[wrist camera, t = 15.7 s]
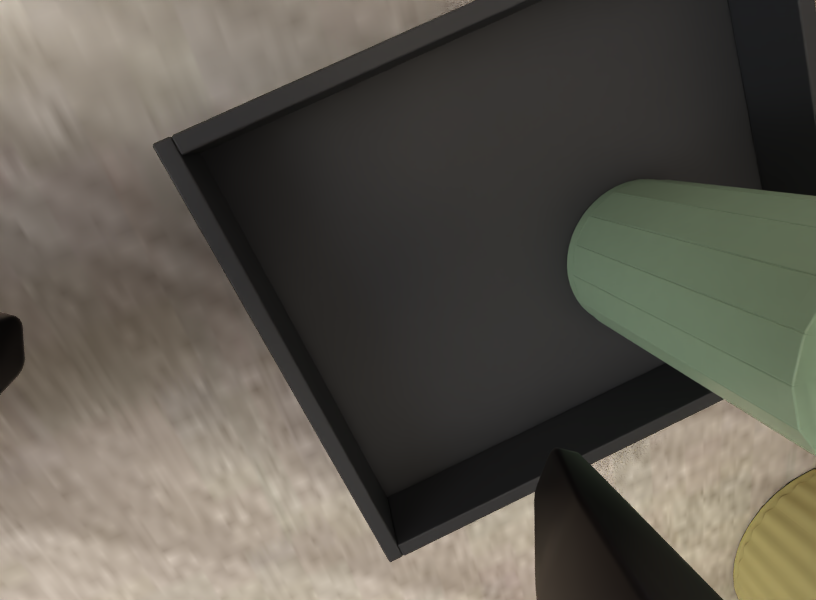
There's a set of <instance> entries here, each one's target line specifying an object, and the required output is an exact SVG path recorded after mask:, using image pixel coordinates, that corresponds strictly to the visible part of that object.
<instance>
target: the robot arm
mask: <svg viewBox="0 0 816 600" xmlns="http://www.w3.org/2000/svg"><path fill="white" fill-rule="evenodd" d="M24 362H25V354H24V340H23V326H22V323H21V321H20V319H19V318H17V317H16V316H14V315H10V314H5V313H1V312H0V395H1V394H2V393H3V391H4V390H5V389H6V388H7V387H8V386H9V385H10V384H11V383H12V382H13V381H14V380H15V378H16V377H17V376H18V375H19V374H20V372H21V371H22V369H23V366H24ZM534 512H535V581H536V596H537V600H723V599H722V598H721V597H720V596H719V595H718V594H717V593H716V592H715V591H714V590H713V589H712V588H711V587H710V586H709V585H708V584H707V583H706V582H705V581H704V580H703V579H702V578H701V577H700V576H699V575H698V574H697V573H696V572H695V571H694V570H693V568H692V567H691V566H690V565H689V564H688V563H687V562H686V561H685V560H684V559H683V558H682V557H681V556H680V555H679V554H678V553H677V552H676V551H675V550H674V549H673V548H672V547H671V546H670V545H669V544H668V543H667V542H666V541H665V540H664V539H663V538H662V537H661V536H660V535H659V534H658V533H657V532H656V531H655V530H654V529H653V528H652V527H651V526H650V525H649V524H648V523H647V522H646V521H645V520H644V519H643V518H642V517H641V516H640V515H639V514H638V513H637V511H636V510H635V509H634V508H633V507H632V506H631V505H630V504H629V503H628V502H627V501H626V500H625V499H624V498H623V497H622V496H621V495H620V494H619V493H618V492H617V491H616V490H615V489H614V488H613V487H612V486H611V485H610V484H609V483H608V482H607V481H606V480H605V479H604V478H603V477H602V476H601V475H600V474H599V473H598V472H597V471H596V470H595V469H594V468H593V467H592V466H591V465H590V464H589V463H588V462H587V461H586V460H585V459H584V458H583V457H582V456H581V455H580V454H579V453H577V452H574V451H570V450H566V449H562V448H554V449H552V451H551V452H550V454H549V456H548V458H547V461H546V463H545V466H544V469H543V471H542V474H541V476H540V479H539V481H538V484H537V486H536V491H535V498H534Z"/></svg>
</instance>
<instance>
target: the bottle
mask: <svg viewBox="0 0 816 600" xmlns="http://www.w3.org/2000/svg"><path fill="white" fill-rule="evenodd" d="M567 271H568V278H569V282H570V286H571V288H572V291H573V293H574V295H575V297H576V299H577V301H578V302H579V303H580V304H581V306H582V307H583V308H584V309H585V310H586V311H587V312H588V313H590V314H591V315H593V316H594V317H595V318H596V319H597V320H598V321H600V322H601V323H603V324H604V325H606V326H608V327H609V328H611V329H612V330H614V331H616V332H617V333H619V334H620V335H622V336H624V337H625V338H627V339H628V340H630V341H632V342H633V343H635V344H636V345H638V346H640V347H641V348H643V349H644V350H646V351H648V352H649V353H651V354H652V355H654V356H656V357H657V358H659V359H660V360H662V361H664V362H665V363H667V364H669V365H670V366H672V367H673V368H675V369H677V370H678V371H680V372H681V373H683V374H685V375H686V376H688V377H689V378H691V379H693V380H694V381H696V382H697V383H699V384H701V385H702V386H704V387H705V388H707V389H709V390H710V391H712V392H713V393H715V394H717V395H718V396H720V397H721V398H723V399H725V400H726V401H728V402H729V403H731V404H733V405H734V406H736V407H737V408H739V409H741V410H742V411H744V412H745V413H747V414H749V415H750V416H752V417H753V418H755V419H757V420H758V421H760V422H761V423H763V424H765V425H766V426H768V427H769V428H771V429H773V430H774V431H776V432H778V433H779V434H781V435H782V436H784V437H786V438H787V439H789V440H790V441H792V442H794V443H795V444H797V445H798V446H800V447H802V448H803V449H805V450H806V451H808V452H810V453H811V454H813V455H814V456H816V196H811V195H802V194H793V193H783V192H774V191H765V190H756V189H747V188H738V187H729V186H720V185H711V184H702V183H693V182H684V181H675V180H655V179H639V180H633V181H629V182H626V183H623V184H620V185H618V186H616V187H614V188H612V189H610V190H609V191H607V192H606V193H604V194H603V195H602V196H600V197H599V198H598V199H597V200H596V201H595V202H593V204H592V205H591V206H590V207H589V208H588V209H587V210H586V212H585V213H584V214H583V216H582V217H581V219H580V220H579V222H578V224H577V226H576V228H575V230H574V233H573V235H572V237H571V241H570V245H569V249H568V255H567Z"/></svg>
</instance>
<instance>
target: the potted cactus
mask: <svg viewBox="0 0 816 600" xmlns="http://www.w3.org/2000/svg"><path fill="white" fill-rule="evenodd" d="M733 579H734V587H735V591H736V594H737V596H738V599H739V600H816V469H814V470H812V471H809V472H807V473H806V474H804V475H802V476H800V477H799V478H797V479H795V480H794V481H792V482H791V483H789V484H788V485H787V486H785V487H784V488H783V489H781V490H780V491H779V492H778V493H776V494H775V495H774V496H773V497H772V498H771V499H770V500H769V501H768V502H767V503H766V504H765V505H764V506H763V508H762V509H761V510H760V511H759V512H758V514H757V515H756V516H755V518H754V519H753V520H752V522H751V523H750V525H749V527H748V528H747V530H746V532H745V534H744V536H743V538H742V540H741V542H740V545H739V548H738V551H737V554H736V557H735V562H734V571H733Z"/></svg>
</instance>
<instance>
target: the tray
mask: <svg viewBox="0 0 816 600" xmlns="http://www.w3.org/2000/svg"><path fill="white" fill-rule="evenodd" d="M153 148H154V150H155V151H156V153H157V155H158V157H159V158H160V160H161V162H162V164H163V165H164V167H165V169H166V171H167V172H168V174H169V176H170V178H171V179H172V181H173V183H174V185H175V186H176V188H177V190H178V192H179V193H180V195H181V197H182V199H183V200H184V202H185V204H186V206H187V207H188V209H189V211H190V213H191V215H192V216H193V218H194V220H195V222H196V223H197V225H198V227H199V229H200V230H201V232H202V234H203V236H204V237H205V239H206V241H207V243H208V244H209V246H210V248H211V250H212V251H213V253H214V255H215V257H216V258H217V260H218V262H219V264H220V265H221V267H222V269H223V271H224V272H225V274H226V276H227V278H228V279H229V281H230V283H231V285H232V286H233V288H234V290H235V292H236V293H237V295H238V297H239V299H240V300H241V302H242V304H243V306H244V307H245V309H246V311H247V313H248V314H249V316H250V318H251V320H252V322H253V323H254V325H255V327H256V329H257V330H258V332H259V334H260V336H261V337H262V339H263V341H264V343H265V344H266V346H267V348H268V350H269V351H270V353H271V355H272V357H273V358H274V360H275V362H276V364H277V365H278V367H279V369H280V371H281V372H282V374H283V376H284V378H285V379H286V381H287V383H288V385H289V386H290V388H291V390H292V392H293V393H294V395H295V397H296V399H297V400H298V402H299V404H300V406H301V407H302V409H303V411H304V413H305V414H306V416H307V418H308V420H309V421H310V423H311V425H312V427H313V428H314V430H315V432H316V434H317V436H318V437H319V439H320V441H321V443H322V444H323V446H324V448H325V450H326V451H327V453H328V455H329V457H330V458H331V460H332V462H333V464H334V465H335V467H336V469H337V471H338V472H339V474H340V476H341V478H342V479H343V481H344V483H345V485H346V486H347V488H348V490H349V492H350V493H351V495H352V497H353V499H354V500H355V502H356V504H357V506H358V507H359V509H360V511H361V513H362V514H363V516H364V518H365V520H366V521H367V523H368V525H369V527H370V528H371V530H372V532H373V534H374V535H375V537H376V539H377V541H378V543H379V544H380V546H381V548H382V550H383V551H384V553H385V555H386V557H387V558H388V560H389V561H390V562H392V561H394V560H396V559H398V558H400V557H402V556H403V555H406V554H408V553H411V552H413V551H415V550H417V549H419V548H421V547H423V546H425V545H427V544H429V543H431V542H433V541H435V540H437V539H439V538H441V537H443V536H445V535H447V534H449V533H451V532H453V531H455V530H458V529H460V528H462V527H464V526H466V525H468V524H470V523H472V522H474V521H476V520H478V519H480V518H482V517H484V516H486V515H488V514H490V513H492V512H494V511H496V510H498V509H500V508H502V507H505V506H507V505H509V504H511V503H513V502H515V501H517V500H519V499H521V498H523V497H525V496H527V495H529V494H531V493H533V492H535V491H536V486H537V484H538V481H539V479H540V476H541V474H542V471H543V469H544V466H545V463H546V461H547V458H548V456H549V454H550V452H551V451H552V449H554V448H562V449H566V450H570V451H574V452H577V453H579V454H580V455H581V456H582V457H583V458H584V459H585V460H586V461H587V462H588V463H589V464H592V463H594V462H597V461H599V460H601V459H603V458H605V457H607V456H609V455H611V454H613V453H615V452H617V451H619V450H621V449H623V448H625V447H627V446H629V445H631V444H633V443H635V442H637V441H639V440H641V439H644V438H646V437H648V436H650V435H652V434H654V433H656V432H658V431H660V430H662V429H664V428H666V427H668V426H670V425H672V424H674V423H676V422H678V421H680V420H682V419H684V418H686V417H688V416H691V415H693V414H695V413H697V412H699V411H701V410H703V409H705V408H707V407H709V406H711V405H713V404H715V403H717V402H719V401H721V400H723V398H721V397H720V396H718V395H717V394H715V393H713V392H712V391H710V390H709V389H707V388H705V387H704V386H702V385H701V384H699V383H697V382H696V381H694V380H693V379H691V378H689V377H688V376H686V375H685V374H683V373H681V372H680V371H678V370H677V369H675V368H673V367H672V366H670V365H669V364H667V363H665V362H664V361H662V360H660V359H659V358H657V357H656V356H654V355H652V354H651V353H649V352H648V351H646V350H644V349H643V348H641V347H640V346H638V345H636V344H635V343H633V342H632V341H630V340H628V339H627V338H625V337H624V336H622V335H620V334H619V333H617V332H616V331H614V330H612V329H611V328H609V327H608V326H606V325H604V324H603V323H601V322H600V321H598V320H597V319H596V318H595V317H594V316H593V315H591V314H590V313H588V312H587V311H586V310H585V309H584V308H583V307H582V306H581V304H580V303H579V302H578V301H577V299H576V297H575V295H574V293H573V291H572V288H571V286H570V282H569V278H568V271H567V255H568V249H569V245H570V241H571V237H572V235H573V233H574V230H575V228H576V226H577V224H578V222H579V220H580V219H581V217H582V216H583V214H584V213H585V212H586V210H587V209H588V208H589V207H590V206H591V205H592V204H593V202H595V201H596V200H597V199H598V198H599V197H600V196H602V195H603V194H604V193H606V192H607V191H609V190H610V189H612V188H614V187H616V186H618V185H620V184H623V183H626V182H629V181H633V180H639V179H655V180H675V181H684V182H693V183H702V184H711V185H720V186H729V187H738V188H747V189H756V190H765V191H774V192H783V193H793V194H802V195H811V196H816V8H815V0H475V1H473V2H471V3H469V4H466V5H464V6H462V7H460V8H457V9H455V10H453V11H451V12H448V13H446V14H444V15H442V16H439V17H437V18H435V19H433V20H430V21H428V22H426V23H424V24H421V25H419V26H417V27H415V28H412V29H410V30H408V31H406V32H403V33H401V34H399V35H397V36H395V37H392V38H390V39H388V40H386V41H383V42H381V43H379V44H377V45H374V46H372V47H370V48H368V49H365V50H363V51H361V52H359V53H356V54H354V55H352V56H350V57H347V58H345V59H343V60H341V61H338V62H336V63H334V64H332V65H329V66H327V67H325V68H323V69H320V70H318V71H316V72H314V73H311V74H309V75H307V76H305V77H302V78H300V79H298V80H296V81H293V82H291V83H289V84H287V85H284V86H282V87H280V88H278V89H275V90H273V91H271V92H269V93H266V94H264V95H262V96H260V97H257V98H255V99H253V100H251V101H248V102H246V103H244V104H242V105H239V106H237V107H235V108H233V109H230V110H228V111H226V112H224V113H221V114H219V115H217V116H215V117H212V118H210V119H208V120H206V121H204V122H201V123H199V124H197V125H195V126H192V127H190V128H188V129H186V130H183V131H181V132H179V133H177V134H174V135H173V136H172V137H168V138H165V139H163V140H161V141H159V142H156V143H154V144H153Z"/></svg>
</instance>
